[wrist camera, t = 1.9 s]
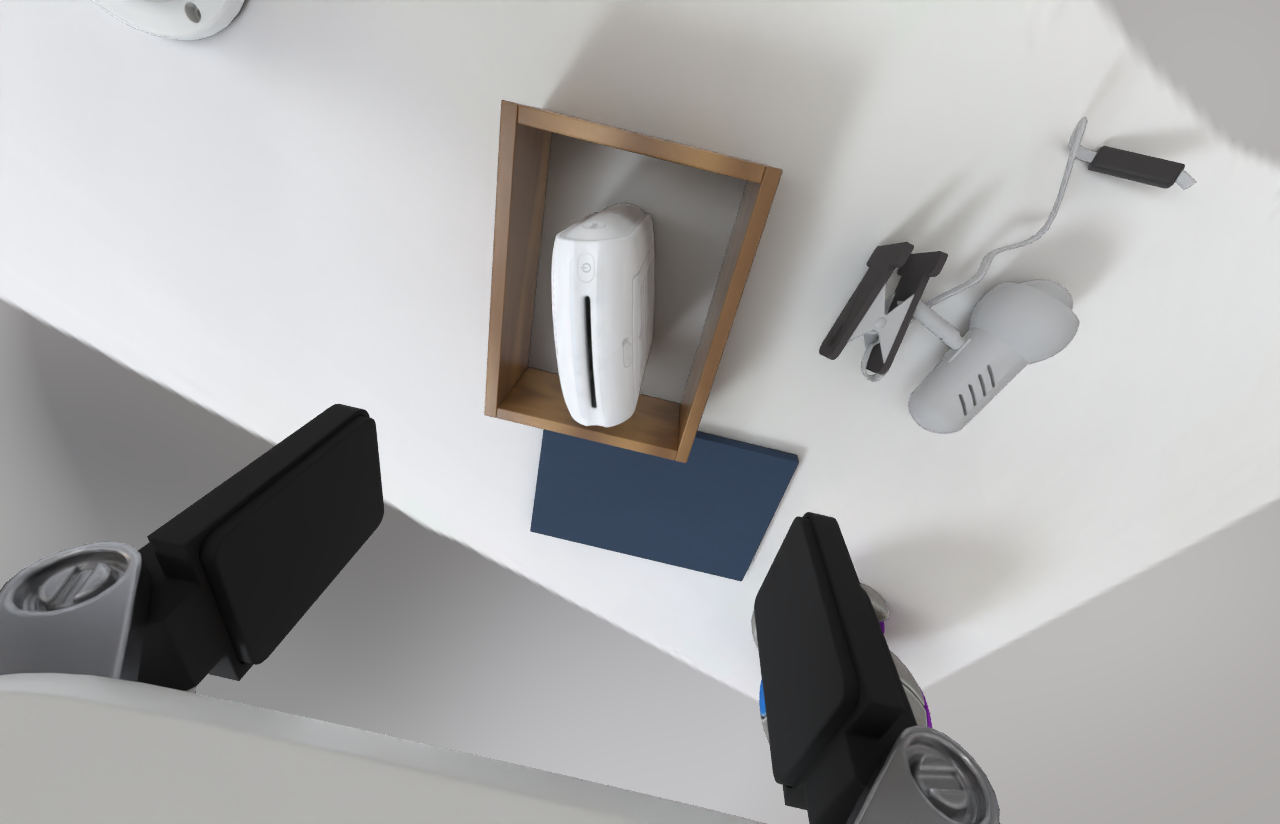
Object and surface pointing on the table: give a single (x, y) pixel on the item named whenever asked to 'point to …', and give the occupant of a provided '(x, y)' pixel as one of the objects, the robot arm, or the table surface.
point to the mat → (662, 500)
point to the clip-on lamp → (976, 309)
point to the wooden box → (516, 267)
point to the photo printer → (603, 312)
